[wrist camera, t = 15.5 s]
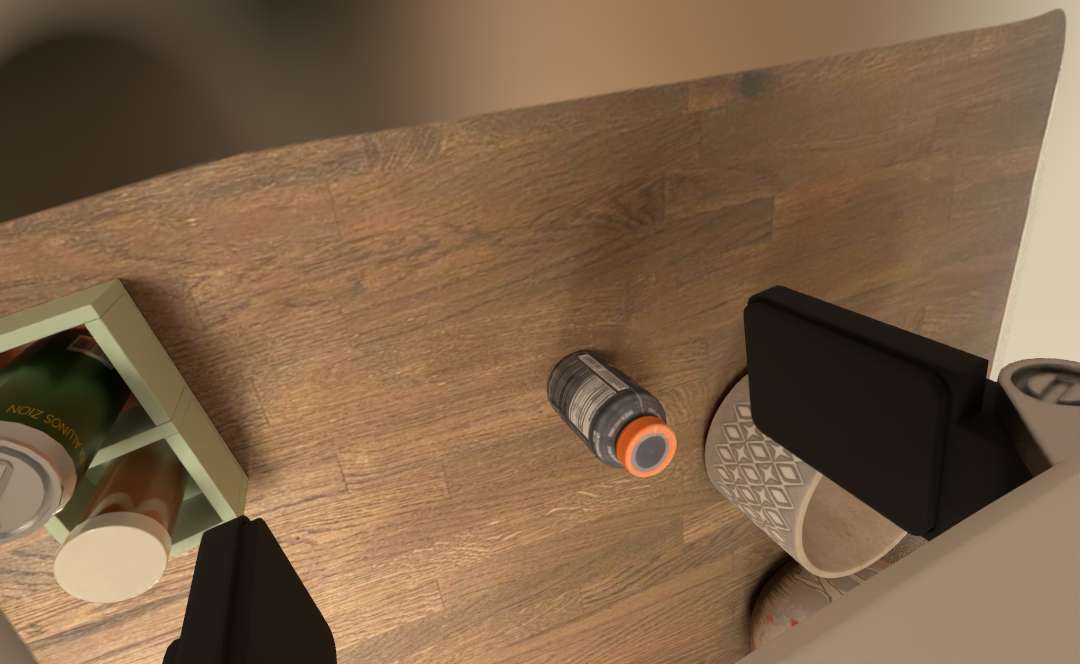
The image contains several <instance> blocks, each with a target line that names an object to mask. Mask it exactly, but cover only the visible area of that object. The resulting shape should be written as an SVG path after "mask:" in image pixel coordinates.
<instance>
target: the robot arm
mask: <svg viewBox="0 0 1080 664" xmlns="http://www.w3.org/2000/svg"><path fill="white" fill-rule="evenodd" d="M744 328H745V341H746V354H747V367H748V380H749V393H750V407H751V417H752V420H753V423H754V424H755V426H756V427H757V429H758V430H759V431H760V432H762V433H763V434H764V435H766V436H767V437H769V438H770V439H772V440H773V441H775V442H776V443H777V444H779V445H780V446H782V447H783V448H785V449H786V450H788V451H789V452H791V453H792V454H793V455H795V456H796V457H798V458H799V459H801V460H802V461H804V462H805V463H807V464H808V465H809V466H811V467H812V468H814V469H815V470H817V471H818V472H820V473H821V474H823V475H824V476H825V477H827V478H828V479H830V480H831V481H833V482H834V483H836V484H837V485H839V486H840V487H841V488H843V489H844V490H846V491H847V492H849V493H850V494H852V495H853V496H855V497H856V498H858V499H859V500H860V501H862V502H863V503H865V504H866V505H868V506H869V507H871V508H872V509H874V510H875V511H876V512H878V513H879V514H881V515H882V516H884V517H885V518H887V519H888V520H890V521H891V522H892V523H894V524H895V525H897V526H898V527H900V528H901V529H903V530H904V531H906V532H907V533H909V534H911V535H915V536H922V537H923V538H925V539H926V540H928V541H929V542H928V543H926V544H924V545H923V546H921V547H919V548H918V549H916V550H915V551H913V552H911V553H910V554H908V555H907V556H905V557H903V558H902V559H900V560H898V561H897V562H895V563H894V564H892V565H890V566H889V567H887V568H886V569H884V570H882V571H881V572H879V573H878V574H876V575H874V576H873V577H871V578H869V579H868V580H866V581H865V582H863V583H861V584H860V585H858V586H857V587H855V588H853V589H852V590H850V591H849V592H847V593H846V594H844V595H842V596H841V597H839V598H838V599H836V600H834V601H833V602H831V603H830V604H828V605H826V606H825V607H823V608H822V609H820V610H818V611H817V612H815V613H814V614H812V615H810V616H809V617H807V618H806V619H804V620H802V621H801V622H799V623H798V624H796V625H794V626H793V627H791V628H790V629H788V630H786V631H785V632H783V633H782V634H780V635H779V636H777V637H775V638H774V639H772V640H771V641H769V642H767V643H766V644H764V645H763V646H761V647H759V648H758V649H756V650H755V651H753V652H752V653H750V654H748V655H747V656H745V657H744V658H742V659H740V660H739V661H737V662H736V663H734V664H1080V363H1079V362H1075V361H1068V360H1061V359H1049V358H1048V359H1047V358H1036V359H1026V360H1021V361H1017V362H1014V363H1010V364H1008V365H1007V366H1006V367H1004V368H1003V369H1001V371H1000V373H999V376H998V380H997V382H995V381H992V380H989V379H987V378H986V375H987V368H988V361H989V360H987V359H984V358H981V357H978V356H975V355H973V354H970V353H967V352H964V351H961V350H959V349H956V348H953V347H950V346H948V345H945V344H942V343H939V342H936V341H934V340H931V339H928V338H925V337H922V336H920V335H917V334H914V333H911V332H909V331H906V330H903V329H900V328H897V327H895V326H892V325H889V324H886V323H883V322H881V321H878V320H875V319H872V318H870V317H867V316H864V315H861V314H858V313H856V312H853V311H850V310H847V309H844V308H842V307H839V306H836V305H833V304H831V303H828V302H825V301H822V300H819V299H817V298H814V297H811V296H808V295H805V294H803V293H800V292H797V291H794V290H792V289H789V288H786V287H783V286H774V287H771V288H769V289H767V290H764V291H762V292H760V293H757V294H755V295H753V296H752V297H750V298H749V301H748V306H746V307H745V309H744ZM162 664H337V658H336V647H335V642H334V638H333V635H332V632H331V630H330V628H329V626H328V624H327V622H326V621H325V619H324V617H323V616H322V614H321V612H320V611H319V609H318V607H317V606H316V604H315V603H314V601H313V599H312V598H311V596H310V594H309V593H308V591H307V590H306V588H305V586H304V585H303V583H302V581H301V580H300V578H299V576H298V575H297V573H296V572H295V570H294V568H293V567H292V565H291V563H290V562H289V560H288V558H287V557H286V555H285V554H284V552H283V550H282V549H281V547H280V545H279V544H278V542H277V540H276V539H275V537H274V536H273V534H272V532H271V531H270V529H269V527H268V526H267V524H266V523H265V521H264V520H263V519H262V518H257V519H255V520H253V521H250V519H249V518H247V517H246V516H244V515H241V516H239V517H237V518H234V519H232V520H230V521H227V522H225V523H223V524H220V525H218V526H216V527H213V528H211V529H209V530H206V531H205V532H204V533H203V535H202V537H201V542H200V547H199V551H198V556H197V561H196V565H195V570H194V575H193V580H192V584H191V589H190V594H189V598H188V603H187V608H186V613H185V617H184V622H183V627H182V631H181V636H180V638H179V639H177V640H174V641H173V642H172V643H171V644H170V645H169V646H168V648H167V651H166V653H165V656H164V659H163V663H162Z"/></svg>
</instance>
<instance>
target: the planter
mask: <svg viewBox="0 0 1080 664" xmlns="http://www.w3.org/2000/svg"><path fill="white" fill-rule="evenodd" d="M705 465H706V470H707V473H708V477H709V478H710V480H711V482H712V484H713V485H714V487H715V488H716V489H717V490H718V491H719V492H720V493H721V494H722V495H723V496H724V497H726V498H727V499H728V500H729V501H730V502H731V503H732V504H733V505H735V506H736V507H737V508H738V509H739V510H740V511H741V512H742V513H744V514H745V515H746V516H747V517H748V518H749V519H750V520H751V521H753V522H754V523H755V524H756V525H757V526H758V527H759V528H760V529H761V530H763V531H764V532H765V533H766V534H767V535H768V536H769V537H770V538H772V539H773V540H774V541H775V542H776V543H777V544H778V545H779V546H781V547H782V548H783V549H784V550H785V551H786V552H787V553H788V554H790V555H791V556H792V557H793V558H794V559H795V560H796V561H797V562H798V563H800V564H801V565H802V566H803V567H804V568H805V569H806V570H808V571H809V572H811V573H812V574H814V575H816V576H819V577H823V578H837V577H843V576H847V575H850V574H853V573H856V572H858V571H860V570H862V569H864V568H866V567H868V566H869V565H871V564H873V563H874V562H876V561H877V560H878V559H880V558H881V557H883V556H884V555H885V554H886V553H888V552H889V551H890V550H891V549H892V548H893V547H894V546H896V544H897V543H898V542H899V541H900V540H901V539H902V538H903V537H904V536H905V535H906V534H907V532H906V531H904V530H903V529H901V528H900V527H898V526H897V525H895V524H894V523H892V522H891V521H890V520H888V519H887V518H885V517H884V516H882V515H881V514H879V513H878V512H876V511H875V510H874V509H872V508H871V507H869V506H868V505H866V504H865V503H863V502H862V501H860V500H859V499H858V498H856V497H855V496H853V495H852V494H850V493H849V492H847V491H846V490H844V489H843V488H841V487H840V486H839V485H837V484H836V483H834V482H833V481H831V480H830V479H828V478H827V477H825V476H824V475H823V474H821V473H820V472H818V471H817V470H815V469H814V468H812V467H811V466H809V465H808V464H807V463H805V462H804V461H802V460H801V459H799V458H798V457H796V456H795V455H793V454H792V453H791V452H789V451H788V450H786V449H785V448H783V447H782V446H780V445H779V444H777V443H776V442H775V441H773V440H772V439H770V438H769V437H767V436H766V435H764V434H763V433H762V432H760V431H759V430H758V429H757V427H756V426H755V424H754V423H753V420H752V417H751V407H750V393H749V380H748V374H747V375H745V376H744V377H743V378H742V379H741V380H740V381H739V382H738V383H737V384H736V385H735V386H734V387H733V389H732V390H731V391H730V392H729V394H728V395H727V396H726V397H725V399H724V401H723V402H722V404H721V405H720V407H719V408H718V410H717V412H716V414H715V416H714V418H713V421H712V423H711V426H710V429H709V432H708V436H707V441H706V446H705Z"/></svg>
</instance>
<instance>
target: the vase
mask: <svg viewBox="0 0 1080 664" xmlns="http://www.w3.org/2000/svg"><path fill="white" fill-rule="evenodd" d="M890 565H892V564H891V563H888V562H885V561H882V560H879V559H878V560H877V561H876V562H874V563H873V564H871V565H869V566H868V567H866V568H864V569H862V570H860V571H858V572H856V573H853V574H850V575H847V576H843V577H837V578H823V577H819V576H816V575H814V574H812V573H811V572H809V571H808V570H806V569H805V568H804V567H803V566H802V565H801V564H800V563H798V562H797V561H796V560H794V561H792V562H790V563H788V564H787V565H785V566H784V567H782V568H781V569H780V570H779V571H777V572H776V573H775V574H774V575H773V576H772V577H771V578H770V579H769V580H768V582H767V583H766V584H765V586H764V587H763V589H762V590H761V592H760V594H759V595H758V597H757V599H756V602H755V605H754V608H753V612H752V617H751V623H750V652H751V653H752V652H753V651H755V650H756V649H758V648H759V647H761V646H763V645H764V644H766V643H767V642H769V641H771V640H772V639H774V638H775V637H777V636H779V635H780V634H782V633H783V632H785V631H786V630H788V629H790V628H791V627H793V626H794V625H796V624H798V623H799V622H801V621H802V620H804V619H806V618H807V617H809V616H810V615H812V614H814V613H815V612H817V611H818V610H820V609H822V608H823V607H825V606H826V605H828V604H830V603H831V602H833V601H834V600H836V599H838V598H839V597H841V596H842V595H844V594H846V593H847V592H849V591H850V590H852V589H853V588H855V587H857V586H858V585H860V584H861V583H863V582H865V581H866V580H868V579H869V578H871V577H873V576H874V575H876V574H878V573H879V572H881V571H882V570H884V569H886V568H887V567H889V566H890Z"/></svg>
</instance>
